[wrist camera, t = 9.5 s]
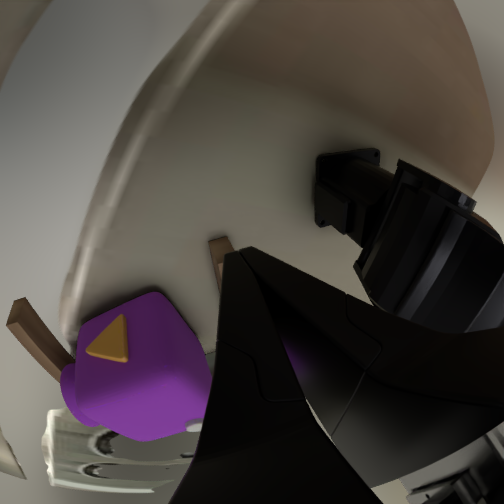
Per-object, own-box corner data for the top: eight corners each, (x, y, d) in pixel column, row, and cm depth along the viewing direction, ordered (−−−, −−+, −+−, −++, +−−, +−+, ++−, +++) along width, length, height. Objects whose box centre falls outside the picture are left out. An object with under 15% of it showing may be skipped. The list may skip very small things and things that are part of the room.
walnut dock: (226, 236, 22) (243, 266, 19) (247, 349, 31) (259, 376, 28) (14, 300, 18) (3, 334, 15) (91, 389, 27) (92, 418, 24)
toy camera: (47, 340, 21) (39, 432, 14) (142, 266, 21) (154, 376, 13) (121, 384, 28) (133, 461, 20) (214, 331, 28) (246, 417, 20)
